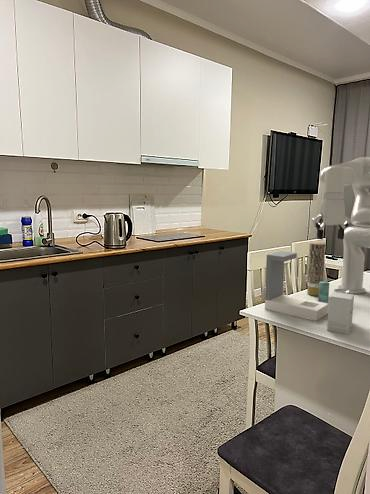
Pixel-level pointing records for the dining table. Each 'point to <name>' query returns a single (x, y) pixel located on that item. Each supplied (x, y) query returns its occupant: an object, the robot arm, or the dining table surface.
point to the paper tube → (315, 267)
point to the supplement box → (340, 312)
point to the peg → (323, 292)
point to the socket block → (285, 302)
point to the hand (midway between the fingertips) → (330, 239)
